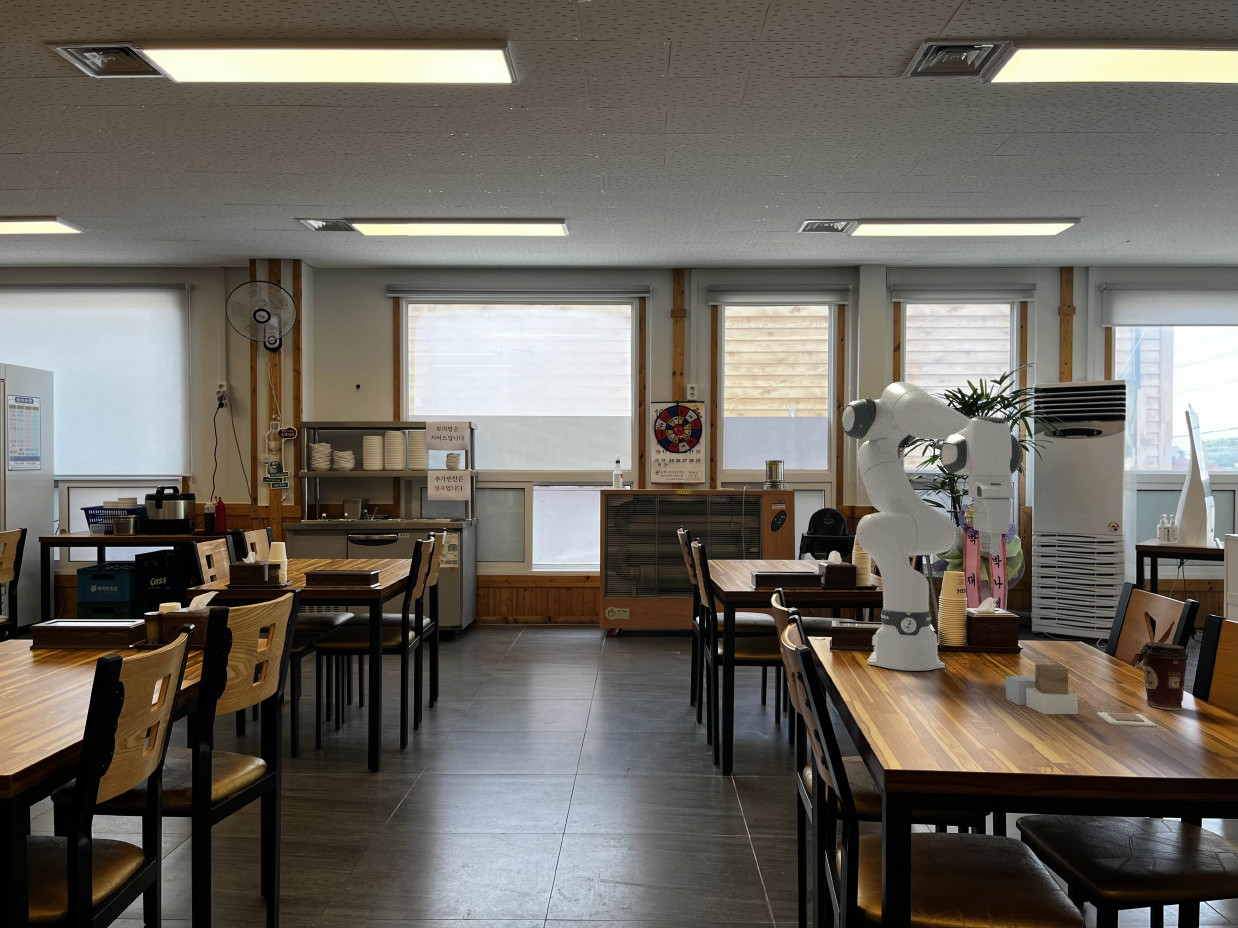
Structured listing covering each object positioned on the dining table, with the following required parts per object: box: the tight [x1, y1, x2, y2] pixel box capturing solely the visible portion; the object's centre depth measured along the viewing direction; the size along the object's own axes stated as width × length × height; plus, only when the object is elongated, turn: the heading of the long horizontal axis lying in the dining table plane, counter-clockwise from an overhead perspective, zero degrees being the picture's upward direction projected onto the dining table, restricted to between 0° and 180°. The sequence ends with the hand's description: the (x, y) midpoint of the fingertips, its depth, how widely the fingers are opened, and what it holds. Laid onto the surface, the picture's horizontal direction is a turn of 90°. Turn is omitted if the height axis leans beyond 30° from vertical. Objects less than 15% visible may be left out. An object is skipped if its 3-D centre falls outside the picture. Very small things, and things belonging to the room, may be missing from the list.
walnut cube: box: [1034, 663, 1069, 694], centre depth 186 cm, size 5×5×5 cm
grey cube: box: [1005, 675, 1035, 706], centre depth 193 cm, size 5×5×5 cm
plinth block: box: [1025, 688, 1079, 715], centre depth 186 cm, size 7×7×4 cm
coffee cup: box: [1139, 641, 1190, 711], centre depth 190 cm, size 9×8×13 cm
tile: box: [1096, 711, 1157, 727], centre depth 178 cm, size 8×8×1 cm
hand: (989, 552), depth 199 cm, fingers open, 8 cm apart
